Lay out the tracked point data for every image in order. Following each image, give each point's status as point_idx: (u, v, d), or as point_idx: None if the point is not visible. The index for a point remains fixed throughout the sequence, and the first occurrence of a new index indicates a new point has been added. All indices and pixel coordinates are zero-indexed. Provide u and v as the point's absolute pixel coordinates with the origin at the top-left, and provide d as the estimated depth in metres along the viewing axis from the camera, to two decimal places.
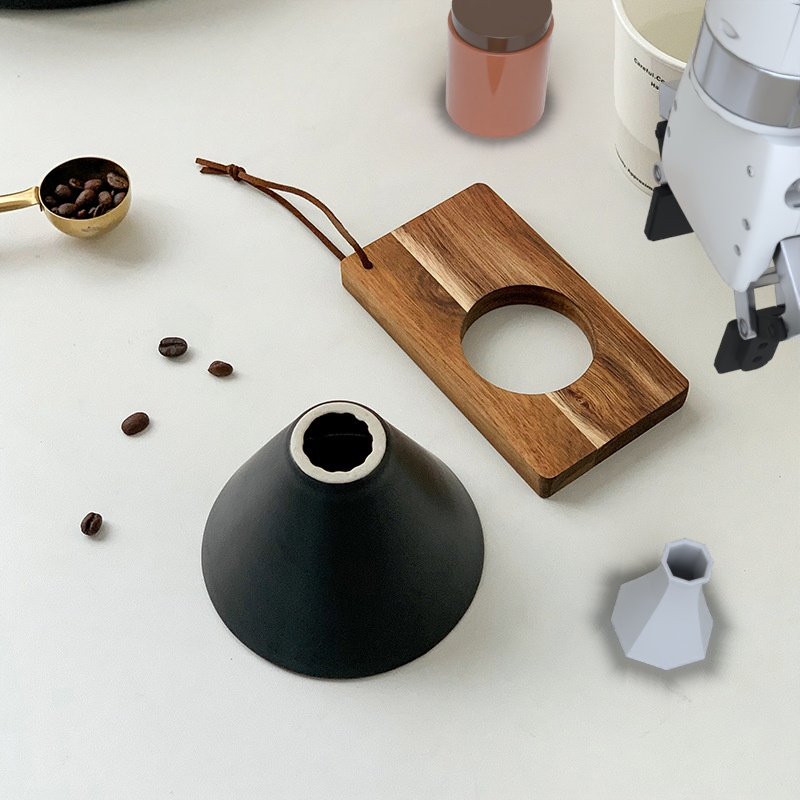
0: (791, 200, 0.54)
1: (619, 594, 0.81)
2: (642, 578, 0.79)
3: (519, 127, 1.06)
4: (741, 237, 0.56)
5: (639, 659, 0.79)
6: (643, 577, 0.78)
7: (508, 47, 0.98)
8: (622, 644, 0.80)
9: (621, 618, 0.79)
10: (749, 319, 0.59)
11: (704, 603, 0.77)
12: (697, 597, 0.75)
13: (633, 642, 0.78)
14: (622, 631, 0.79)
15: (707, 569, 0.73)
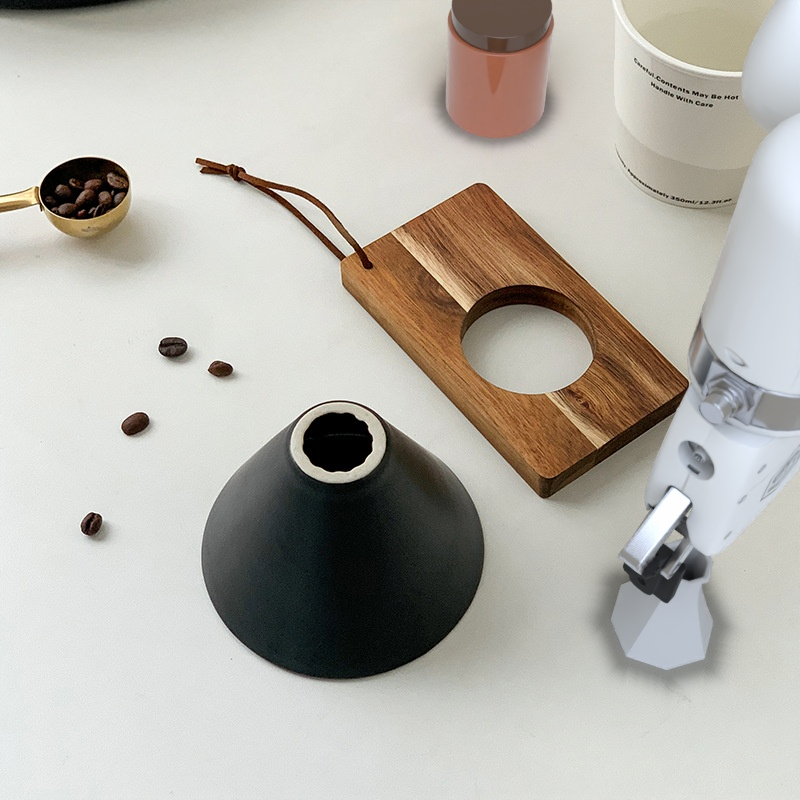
0: (693, 461, 0.57)
1: (619, 594, 0.81)
2: None
3: (519, 127, 1.06)
4: None
5: (639, 659, 0.79)
6: None
7: (508, 47, 0.98)
8: (622, 644, 0.80)
9: (621, 618, 0.79)
10: None
11: (704, 603, 0.77)
12: (697, 597, 0.75)
13: (633, 642, 0.78)
14: (622, 631, 0.79)
15: (707, 569, 0.73)
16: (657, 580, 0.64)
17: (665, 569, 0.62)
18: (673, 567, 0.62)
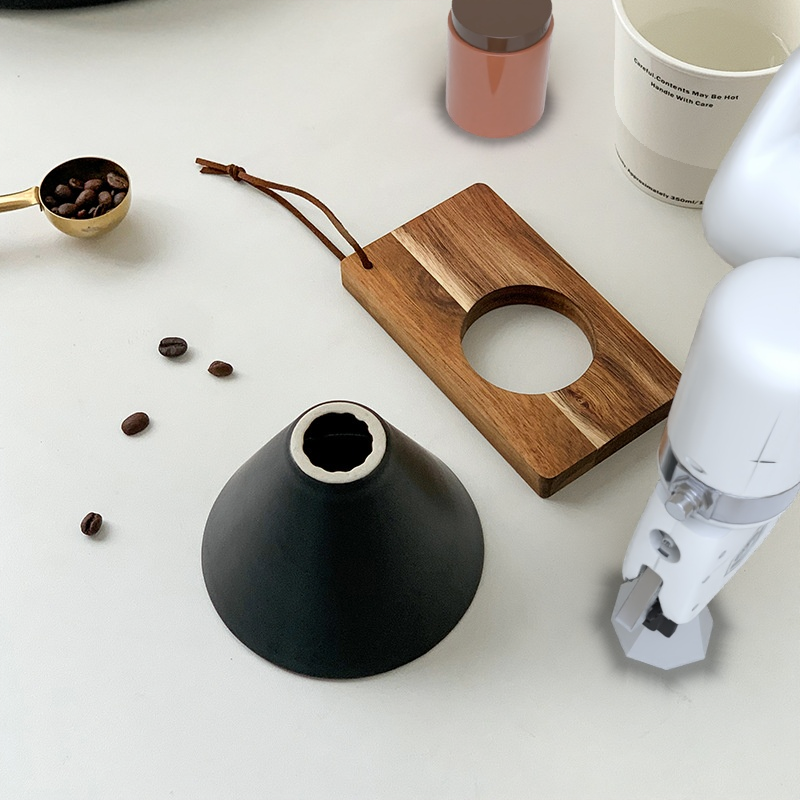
0: (663, 545, 0.65)
1: (619, 594, 0.81)
2: None
3: (519, 127, 1.06)
4: None
5: (639, 659, 0.79)
6: None
7: (508, 47, 0.98)
8: (622, 644, 0.80)
9: None
10: None
11: None
12: None
13: (633, 642, 0.78)
14: (622, 631, 0.79)
15: None
16: (660, 619, 0.74)
17: (664, 614, 0.72)
18: None
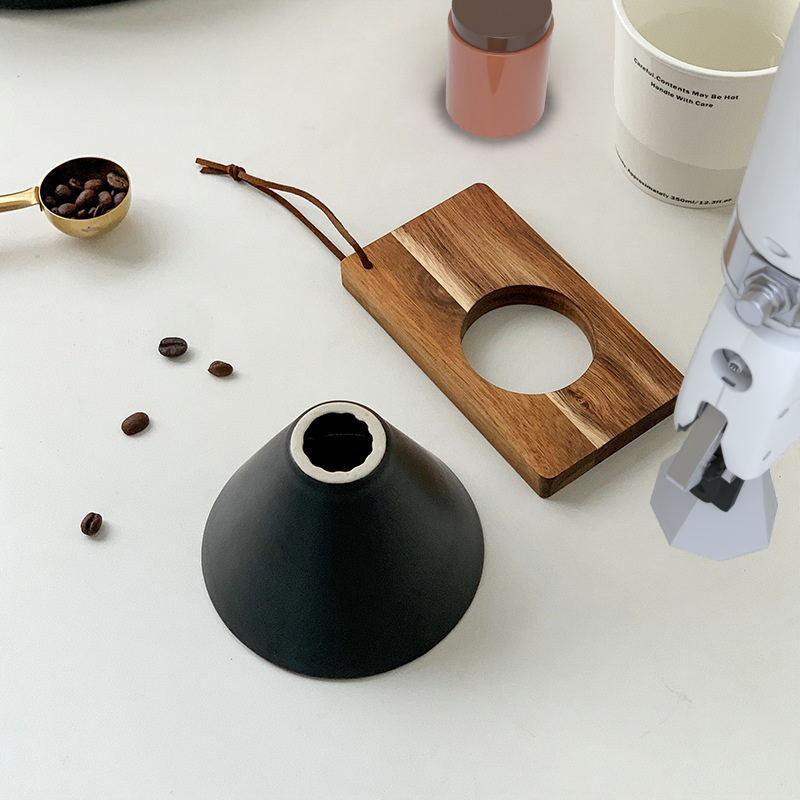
0: (728, 373, 0.52)
1: (663, 469, 0.68)
2: None
3: (519, 127, 1.06)
4: None
5: (689, 543, 0.66)
6: None
7: (508, 47, 0.98)
8: (668, 526, 0.66)
9: (667, 495, 0.66)
10: None
11: (768, 473, 0.64)
12: None
13: (682, 522, 0.65)
14: (668, 510, 0.66)
15: None
16: (718, 486, 0.60)
17: (724, 476, 0.59)
18: (731, 475, 0.58)
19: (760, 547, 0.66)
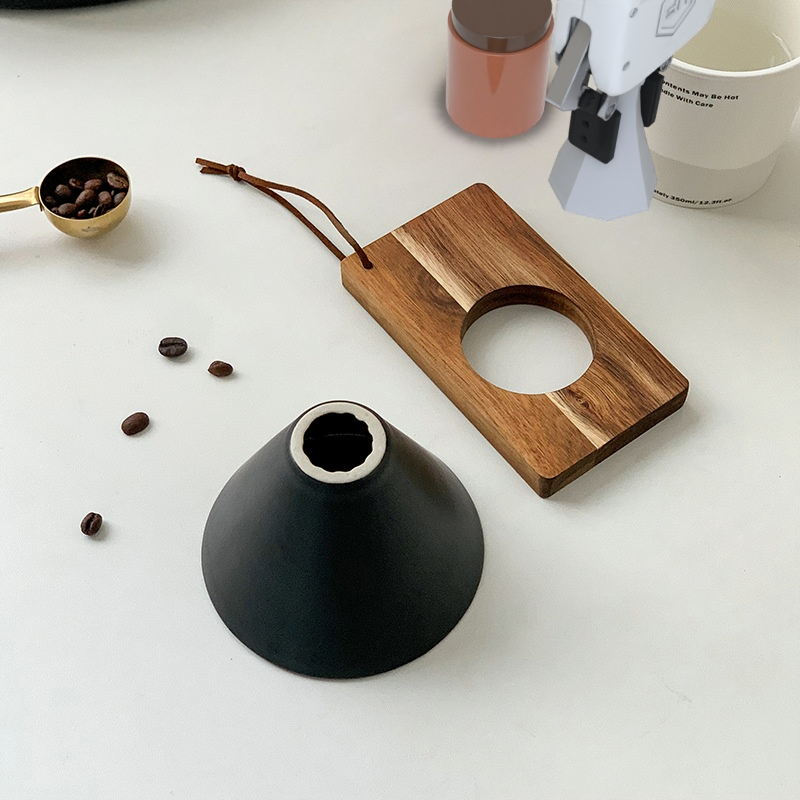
0: None
1: (559, 152, 0.79)
2: None
3: (519, 127, 1.06)
4: None
5: (580, 205, 0.77)
6: None
7: (508, 47, 0.98)
8: (562, 193, 0.77)
9: (561, 166, 0.77)
10: None
11: (644, 136, 0.75)
12: (635, 113, 0.72)
13: (573, 184, 0.76)
14: (562, 179, 0.77)
15: None
16: (597, 130, 0.71)
17: (599, 113, 0.70)
18: (604, 110, 0.69)
19: (641, 208, 0.77)
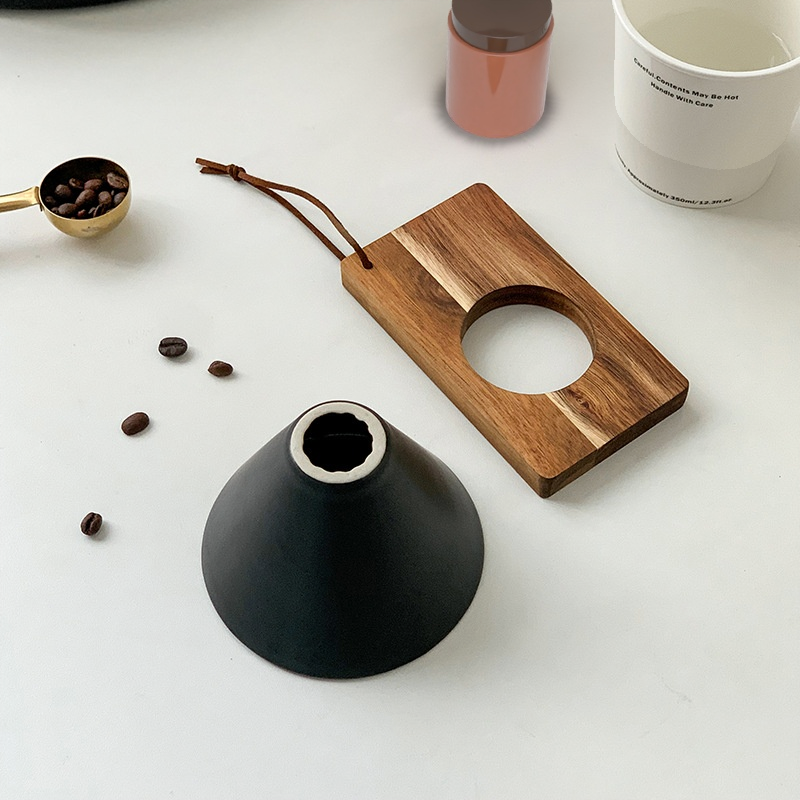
0: None
1: None
2: None
3: (519, 127, 1.06)
4: None
5: None
6: None
7: (508, 47, 0.98)
8: None
9: None
10: None
11: None
12: None
13: None
14: None
15: None
16: None
17: None
18: None
19: None
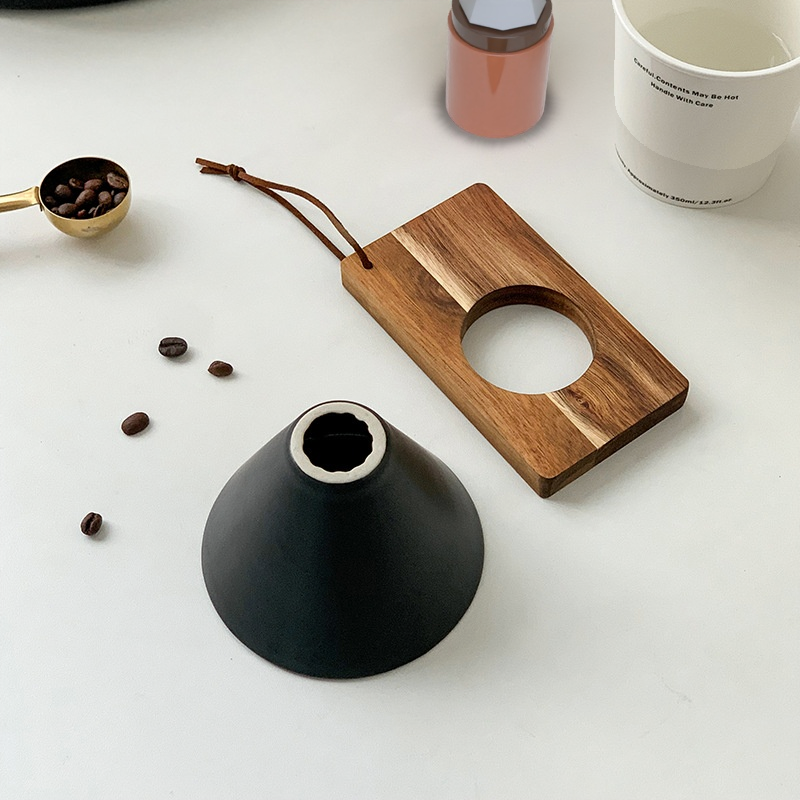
0: None
1: None
2: None
3: (519, 127, 1.06)
4: None
5: (481, 17, 0.97)
6: None
7: (508, 47, 0.98)
8: (469, 8, 0.98)
9: None
10: None
11: None
12: None
13: None
14: None
15: None
16: None
17: None
18: None
19: (530, 21, 0.97)
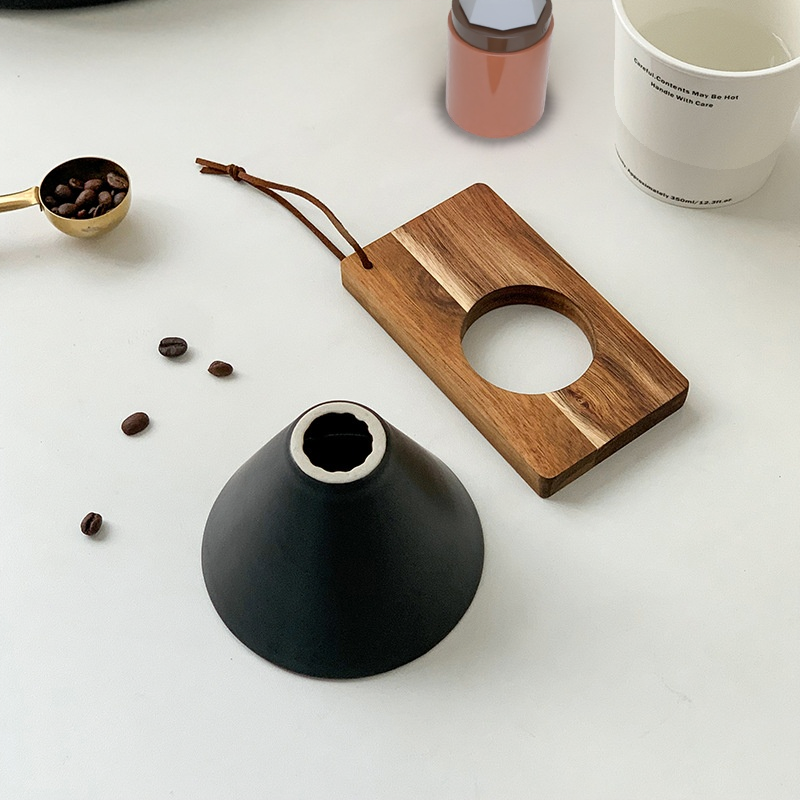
0: None
1: None
2: None
3: (519, 127, 1.06)
4: None
5: (481, 17, 0.97)
6: None
7: (508, 47, 0.98)
8: (469, 8, 0.98)
9: None
10: None
11: None
12: None
13: None
14: None
15: None
16: None
17: None
18: None
19: (530, 21, 0.97)
